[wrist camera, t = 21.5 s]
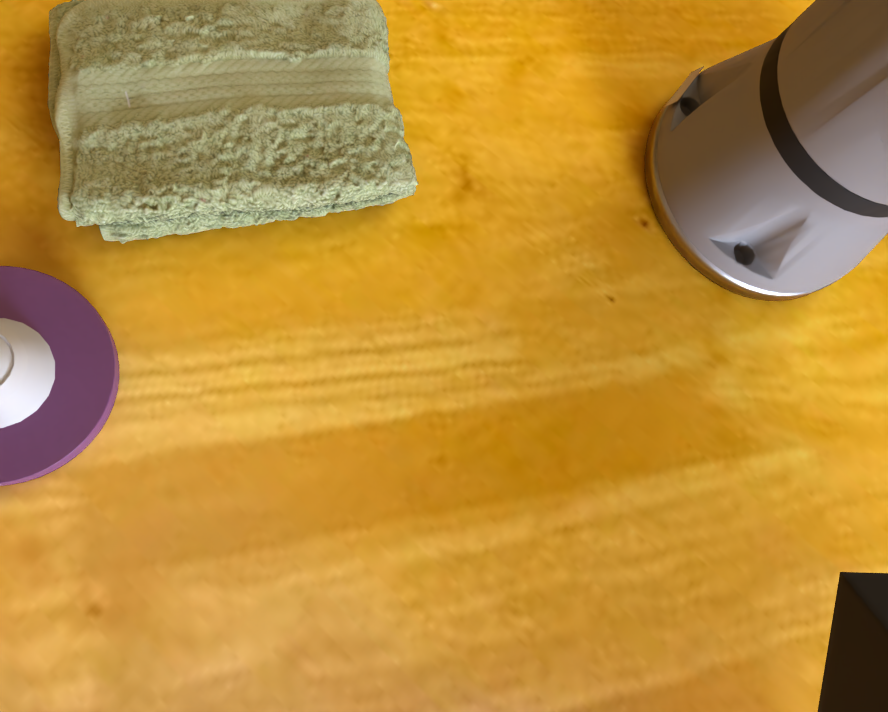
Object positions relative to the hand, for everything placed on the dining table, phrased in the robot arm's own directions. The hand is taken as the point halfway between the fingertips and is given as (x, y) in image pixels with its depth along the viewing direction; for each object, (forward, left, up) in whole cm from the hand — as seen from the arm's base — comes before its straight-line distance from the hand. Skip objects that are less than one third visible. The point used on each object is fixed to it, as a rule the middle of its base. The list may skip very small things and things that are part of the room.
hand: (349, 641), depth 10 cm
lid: (+10, -12, -27) cm, 31 cm away
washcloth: (-3, -23, -27) cm, 35 cm away
